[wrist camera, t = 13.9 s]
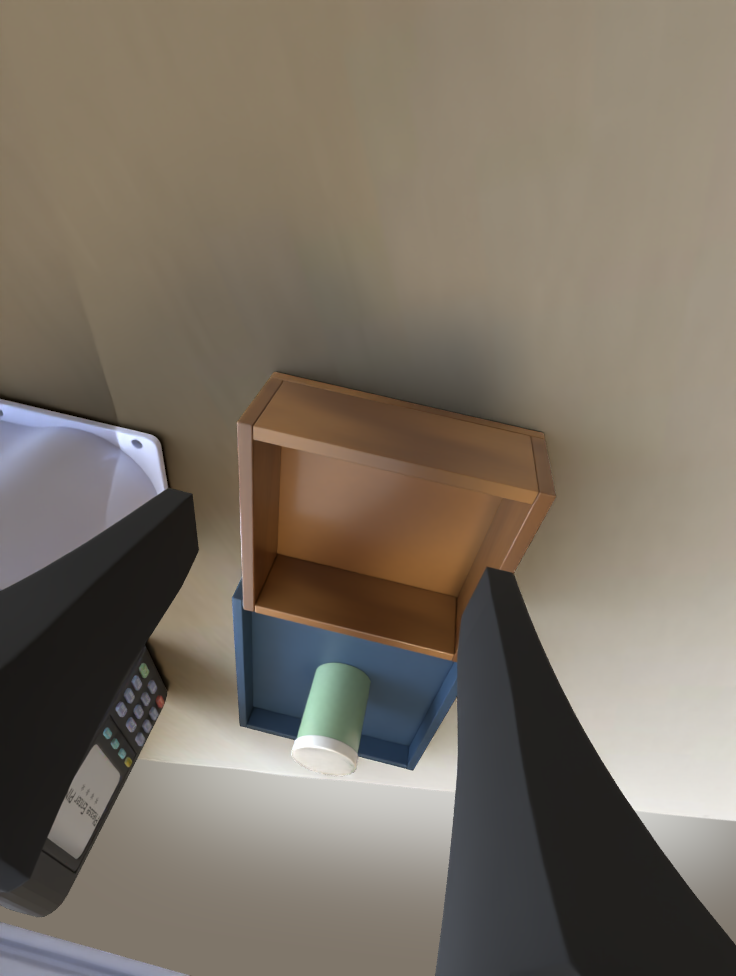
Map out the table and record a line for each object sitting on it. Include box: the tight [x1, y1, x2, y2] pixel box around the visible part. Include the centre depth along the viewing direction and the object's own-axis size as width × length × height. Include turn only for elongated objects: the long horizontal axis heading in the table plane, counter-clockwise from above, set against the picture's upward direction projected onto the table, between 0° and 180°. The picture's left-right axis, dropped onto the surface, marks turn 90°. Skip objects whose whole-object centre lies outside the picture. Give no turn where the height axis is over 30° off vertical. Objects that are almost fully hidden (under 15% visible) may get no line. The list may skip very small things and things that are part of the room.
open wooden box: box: [237, 372, 556, 662], centre depth 21 cm, size 11×11×4 cm
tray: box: [232, 579, 457, 770], centre depth 33 cm, size 14×17×2 cm
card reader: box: [0, 645, 167, 917], centre depth 33 cm, size 9×4×15 cm, turn 178°
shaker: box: [291, 663, 371, 776], centre depth 31 cm, size 4×4×6 cm
